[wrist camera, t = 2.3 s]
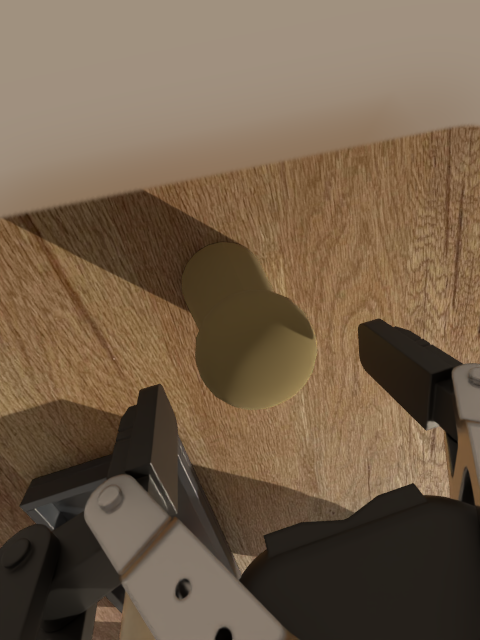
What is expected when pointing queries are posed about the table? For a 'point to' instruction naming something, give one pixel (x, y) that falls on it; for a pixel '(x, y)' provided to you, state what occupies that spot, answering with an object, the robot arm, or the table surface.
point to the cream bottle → (133, 623)
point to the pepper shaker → (246, 329)
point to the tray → (81, 481)
